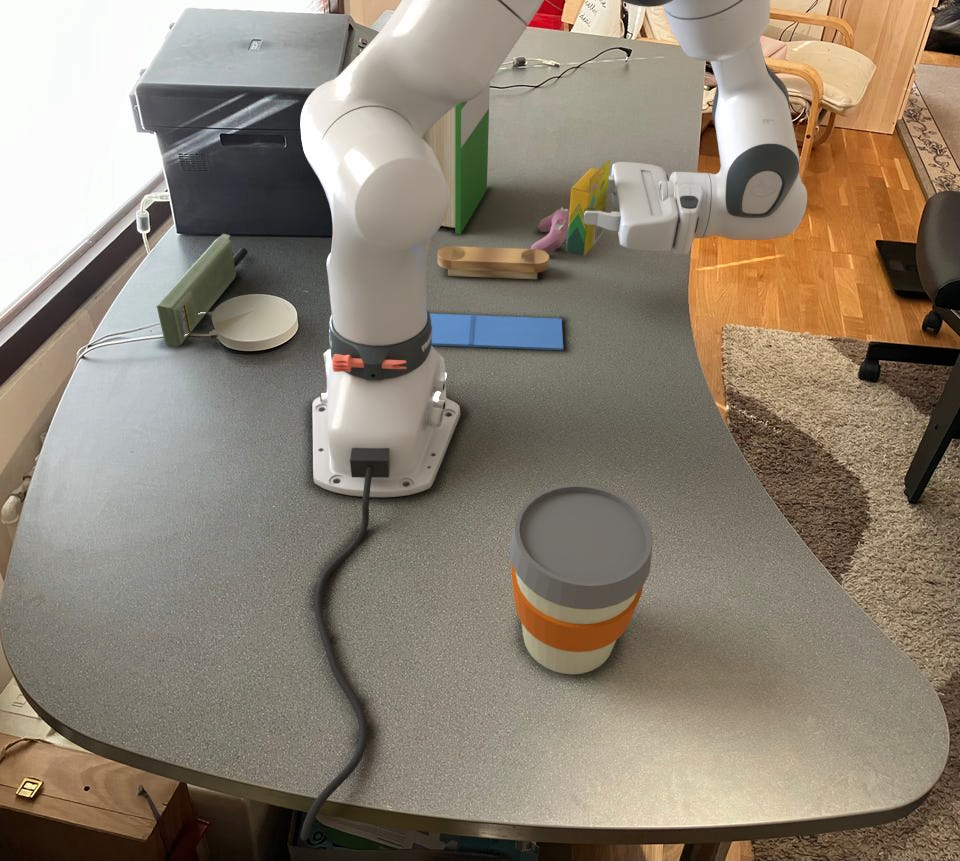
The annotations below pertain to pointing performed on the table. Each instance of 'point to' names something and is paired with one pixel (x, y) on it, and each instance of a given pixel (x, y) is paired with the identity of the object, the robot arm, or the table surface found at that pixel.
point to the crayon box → (586, 195)
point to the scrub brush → (493, 262)
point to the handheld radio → (198, 290)
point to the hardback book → (463, 156)
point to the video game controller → (553, 231)
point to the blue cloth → (497, 331)
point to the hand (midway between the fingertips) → (582, 201)
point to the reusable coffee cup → (577, 573)
